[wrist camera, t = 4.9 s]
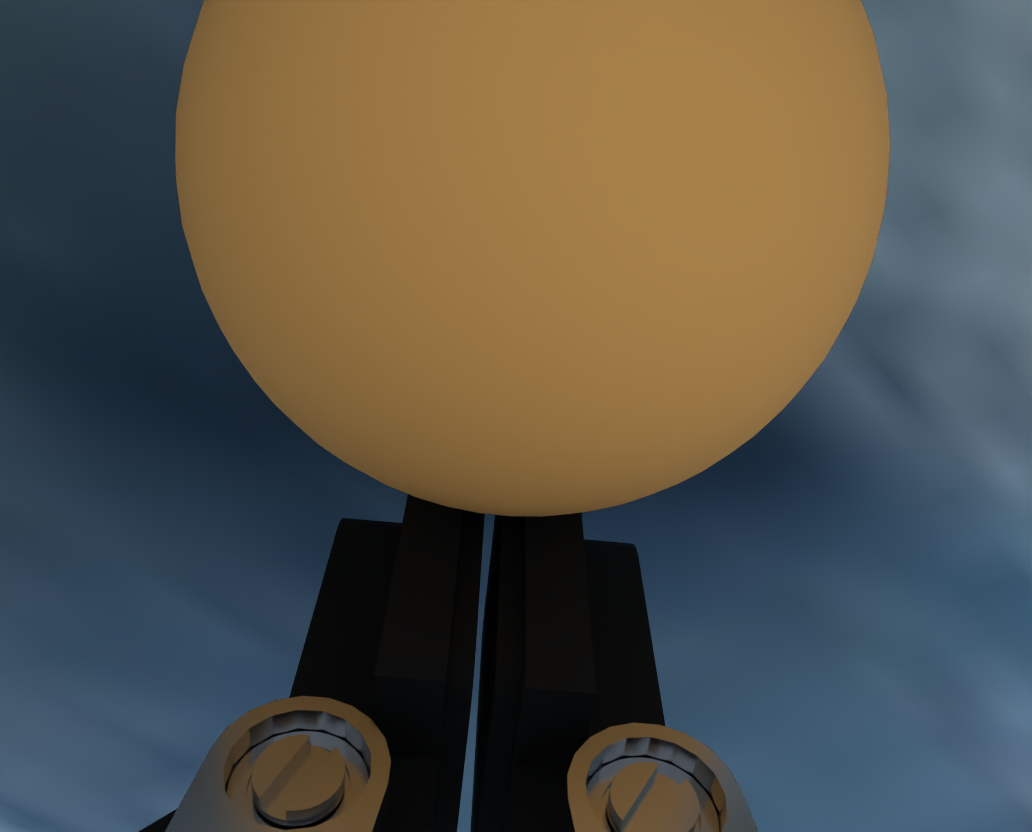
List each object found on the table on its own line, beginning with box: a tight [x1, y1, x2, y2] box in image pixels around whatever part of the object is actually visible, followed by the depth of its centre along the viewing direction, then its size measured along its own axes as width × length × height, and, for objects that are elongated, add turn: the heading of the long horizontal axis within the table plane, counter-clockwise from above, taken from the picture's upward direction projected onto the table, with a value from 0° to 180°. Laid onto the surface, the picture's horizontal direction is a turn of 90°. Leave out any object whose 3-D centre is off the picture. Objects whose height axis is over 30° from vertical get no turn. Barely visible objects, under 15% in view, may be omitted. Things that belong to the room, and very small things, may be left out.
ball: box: [175, 0, 890, 517], centre depth 8 cm, size 6×6×6 cm
